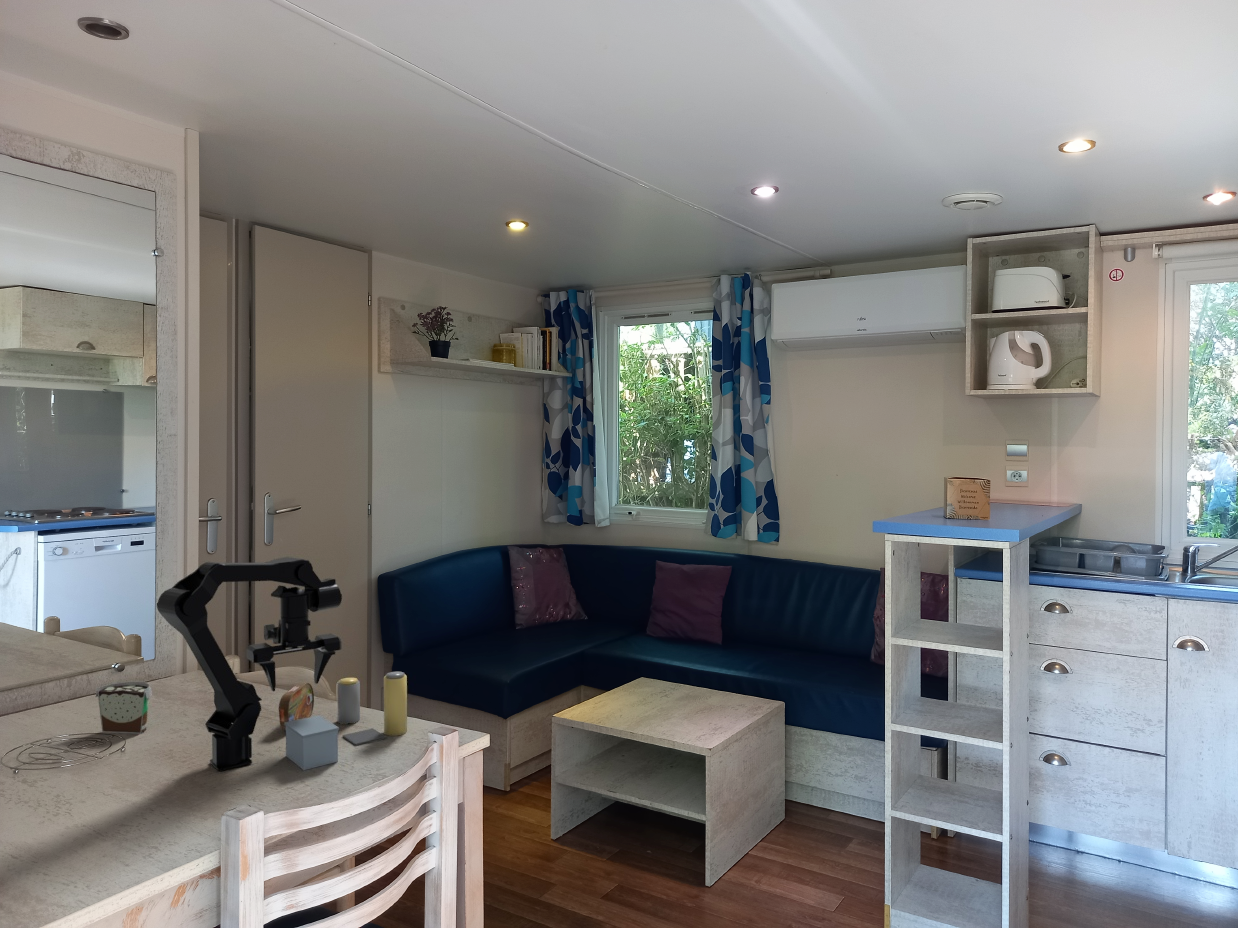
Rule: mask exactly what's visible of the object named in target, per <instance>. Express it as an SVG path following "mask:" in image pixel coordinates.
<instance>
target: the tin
mask: <svg viewBox="0 0 1238 928" xmlns="http://www.w3.org/2000/svg"><path fill="white" fill-rule="evenodd" d="M314 695H315V694H314V688H313V686H312V685H311V683H309V682H305V683H297V684H295V685H294V686H293V687H292V688H290V689H289V690H288V691H287V692H285V693H284V694H283V695H282V696H281V698H280V700H279V703H278V718H279V725H280V728H281V729H282V730H284V731H286V726H285V725H284V723H285V722H289V721H294V720H299V719H304V718H308V717H312V714H313V710H314V705H315V696H314Z"/></svg>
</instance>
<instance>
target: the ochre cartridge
mask: <svg viewBox="0 0 1238 928" xmlns="http://www.w3.org/2000/svg"><path fill="white" fill-rule="evenodd" d="M407 678H408V677H407V675H406V674H405V672H402V671H391V672H387V673H386V674H385V676H384V677H383V735H385V736H400V735H404V734H406V733H407V732H408V698H407V697H408V695H407V694H408V685H407V683H408V681H407V680H408V679H407Z"/></svg>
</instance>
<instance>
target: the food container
mask: <svg viewBox="0 0 1238 928" xmlns="http://www.w3.org/2000/svg"><path fill="white" fill-rule="evenodd" d="M152 695H153V691H152V687H151V686H150V683H148V682H145V681H124V682H117V683H110V684H105V685H103V686H100V687H97V690H95V698H97V699H98V707H99V714H100V715H99V717H100V718H99V719H100V725H101V733H110V734H112V733H114V734H135V735H137V734H139V735H141V734H143V733H144V732H146V730H147V724H148V723H147V722H148V710H149V699H150V697H152Z"/></svg>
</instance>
